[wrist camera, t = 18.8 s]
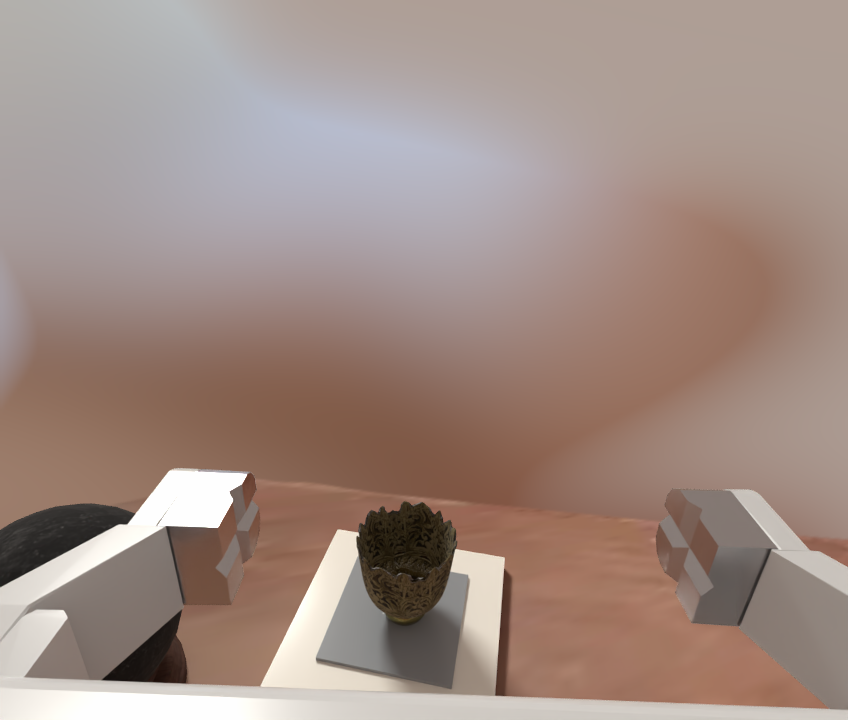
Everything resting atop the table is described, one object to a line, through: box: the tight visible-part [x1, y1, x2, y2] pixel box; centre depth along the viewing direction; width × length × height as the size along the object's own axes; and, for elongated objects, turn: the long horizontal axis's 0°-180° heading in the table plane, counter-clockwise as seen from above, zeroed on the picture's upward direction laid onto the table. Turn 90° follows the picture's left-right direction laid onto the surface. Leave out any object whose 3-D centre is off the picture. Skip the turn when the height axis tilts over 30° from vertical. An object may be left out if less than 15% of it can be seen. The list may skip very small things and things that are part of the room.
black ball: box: [0, 504, 187, 684], centre depth 33 cm, size 13×13×15 cm
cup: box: [356, 501, 457, 626], centre depth 39 cm, size 8×7×8 cm
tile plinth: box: [260, 529, 505, 696], centre depth 41 cm, size 16×16×2 cm
